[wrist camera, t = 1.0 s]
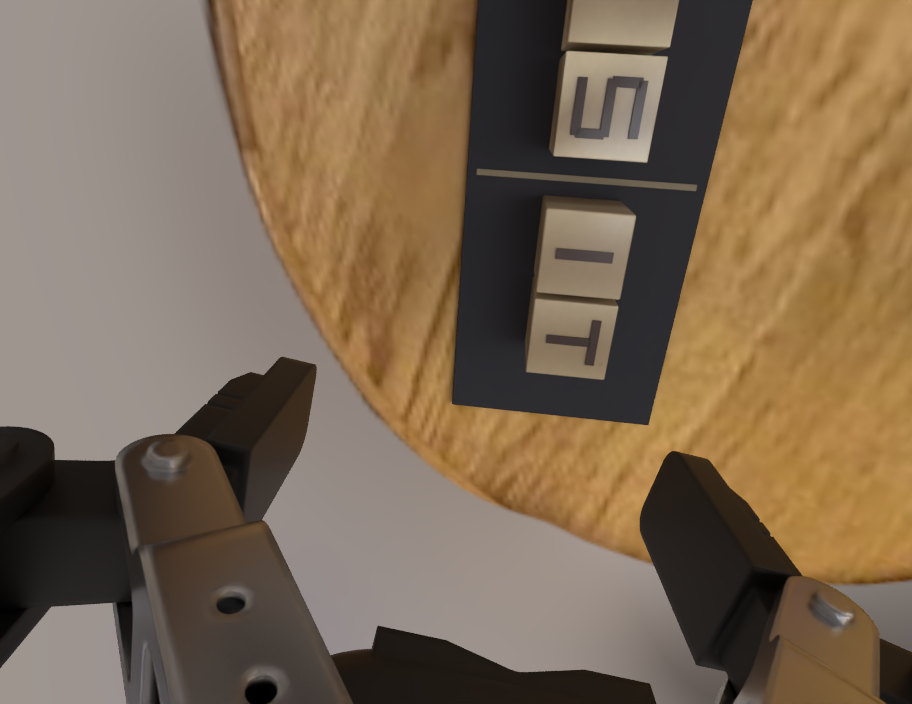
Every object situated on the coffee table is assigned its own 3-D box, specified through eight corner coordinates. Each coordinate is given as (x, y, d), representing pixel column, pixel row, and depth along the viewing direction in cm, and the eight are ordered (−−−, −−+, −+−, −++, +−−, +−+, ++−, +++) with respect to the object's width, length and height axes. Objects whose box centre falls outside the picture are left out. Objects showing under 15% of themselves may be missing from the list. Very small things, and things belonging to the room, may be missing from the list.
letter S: (559, 58, 25) (566, 50, 21) (647, 63, 25) (669, 56, 21) (548, 149, 27) (552, 156, 23) (630, 155, 27) (647, 163, 23)
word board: (483, -70, 24) (482, -73, 23) (763, -58, 23) (768, -61, 23) (452, 401, 34) (451, 404, 33) (646, 421, 33) (648, 425, 33)
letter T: (533, 275, 30) (534, 299, 26) (606, 281, 29) (619, 307, 26) (524, 341, 31) (525, 373, 28) (594, 348, 31) (604, 381, 27)
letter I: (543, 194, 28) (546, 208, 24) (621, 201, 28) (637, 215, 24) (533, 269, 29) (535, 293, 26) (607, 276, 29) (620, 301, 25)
